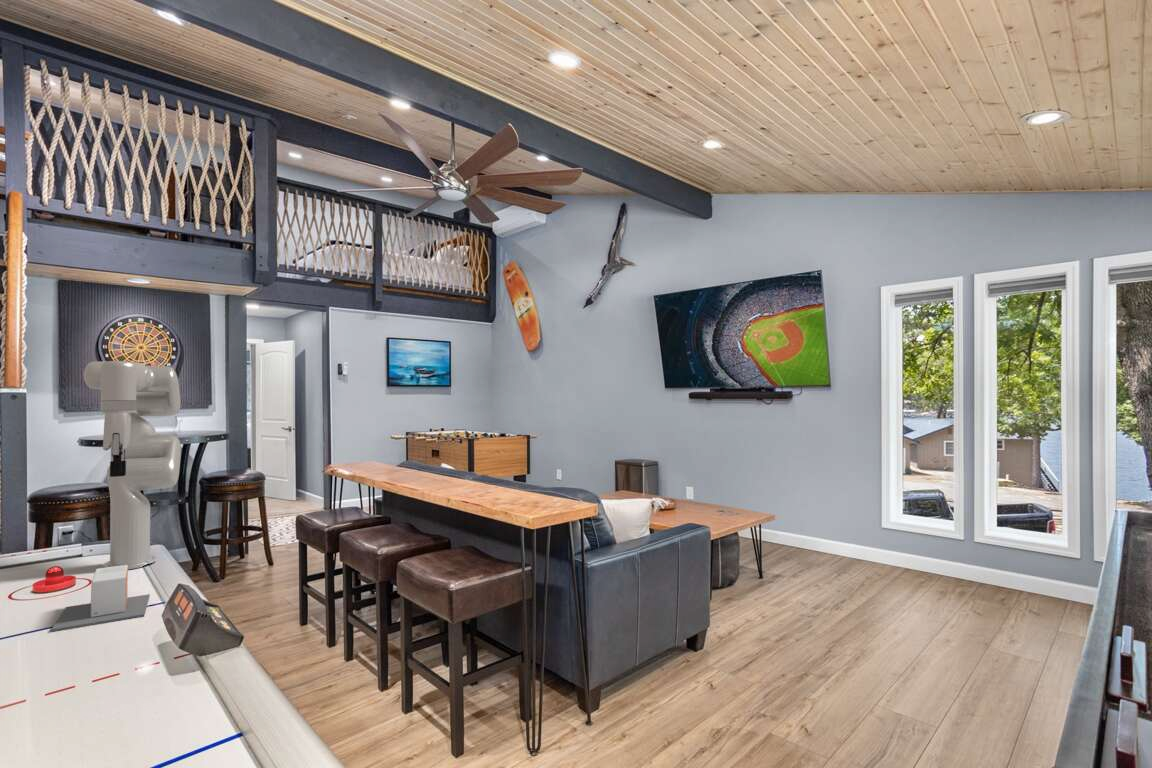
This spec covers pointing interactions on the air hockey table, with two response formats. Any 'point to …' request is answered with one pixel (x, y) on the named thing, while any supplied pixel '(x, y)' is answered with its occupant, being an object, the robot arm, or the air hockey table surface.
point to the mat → (82, 615)
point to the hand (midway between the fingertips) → (117, 475)
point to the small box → (109, 590)
